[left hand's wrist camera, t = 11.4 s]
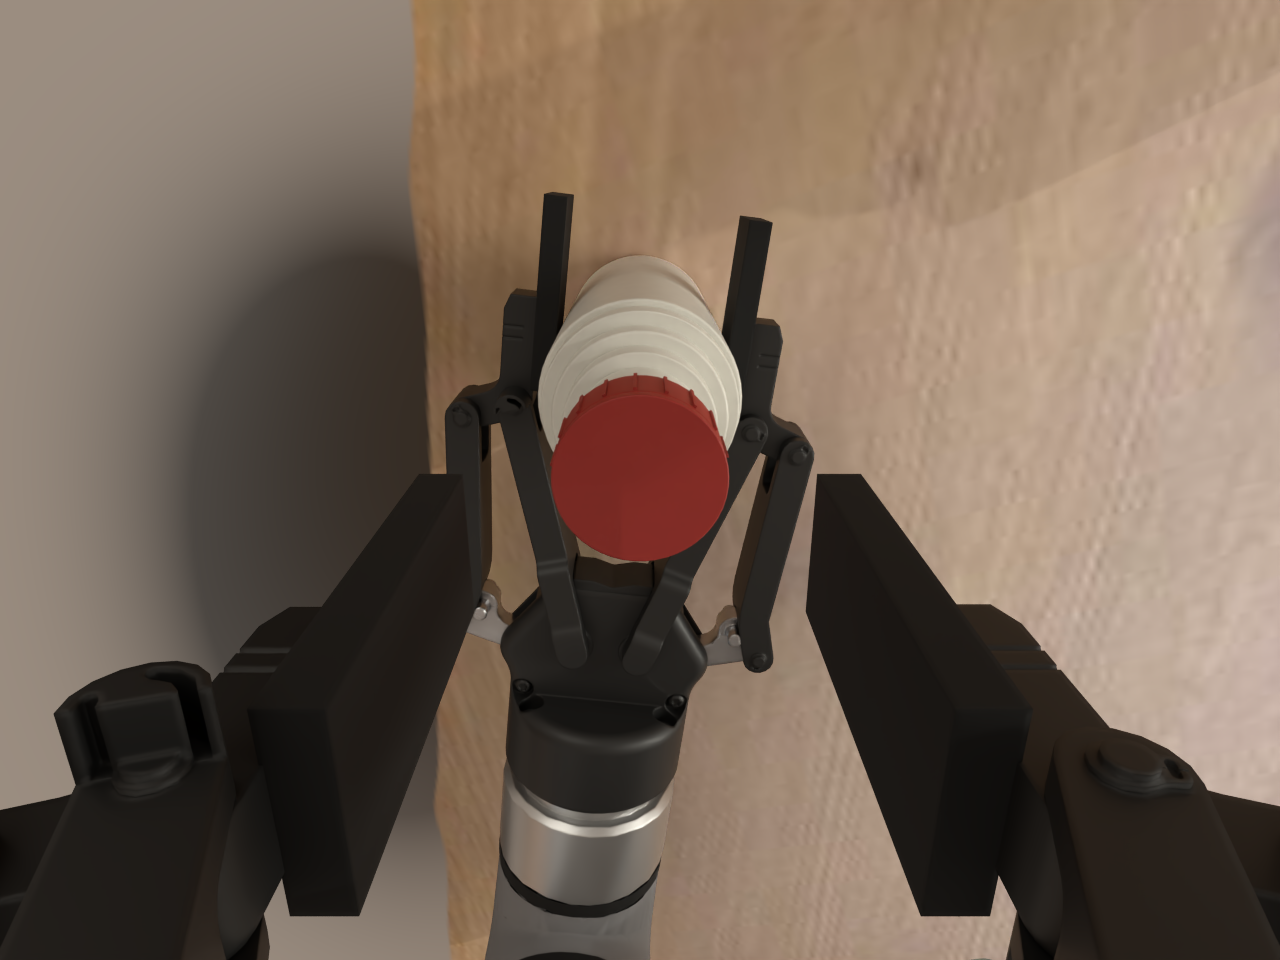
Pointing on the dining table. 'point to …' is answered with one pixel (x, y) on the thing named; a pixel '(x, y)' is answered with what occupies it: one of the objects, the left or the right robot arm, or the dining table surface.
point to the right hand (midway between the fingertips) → (657, 208)
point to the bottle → (639, 342)
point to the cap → (639, 468)
